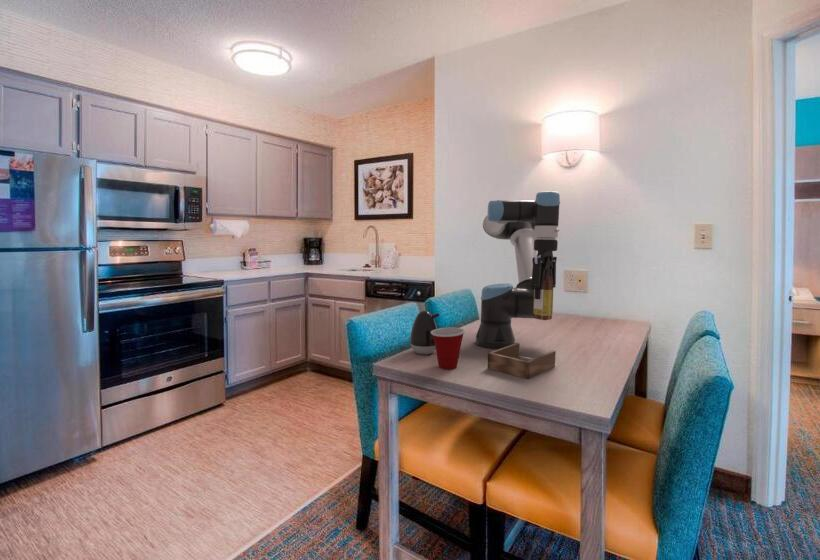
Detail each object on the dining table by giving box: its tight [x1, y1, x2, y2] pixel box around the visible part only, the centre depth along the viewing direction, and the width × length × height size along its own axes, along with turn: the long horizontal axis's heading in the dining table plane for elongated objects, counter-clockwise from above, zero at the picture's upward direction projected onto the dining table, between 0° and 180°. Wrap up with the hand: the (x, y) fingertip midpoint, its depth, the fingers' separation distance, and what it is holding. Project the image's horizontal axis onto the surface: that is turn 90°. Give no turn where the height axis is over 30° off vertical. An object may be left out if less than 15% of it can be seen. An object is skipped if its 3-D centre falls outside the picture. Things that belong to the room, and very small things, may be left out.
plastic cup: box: [431, 326, 466, 370], centre depth 133 cm, size 11×11×12 cm
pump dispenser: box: [409, 310, 440, 355], centre depth 149 cm, size 10×10×15 cm
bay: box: [486, 342, 556, 380], centre depth 134 cm, size 14×18×5 cm
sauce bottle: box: [533, 261, 554, 321], centre depth 141 cm, size 7×6×20 cm
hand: (542, 307), depth 142 cm, fingers closed on sauce bottle, 6 cm apart
